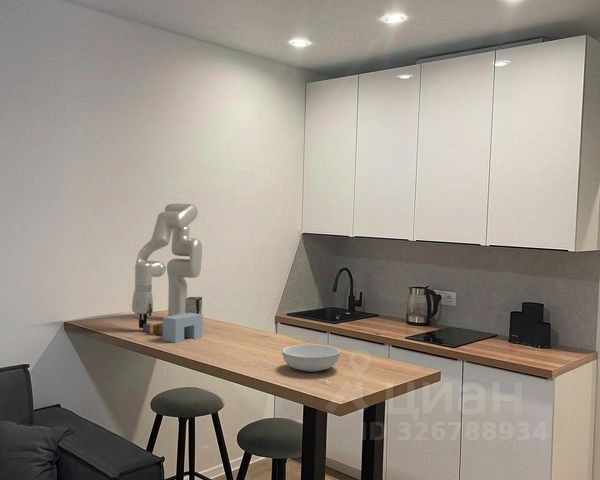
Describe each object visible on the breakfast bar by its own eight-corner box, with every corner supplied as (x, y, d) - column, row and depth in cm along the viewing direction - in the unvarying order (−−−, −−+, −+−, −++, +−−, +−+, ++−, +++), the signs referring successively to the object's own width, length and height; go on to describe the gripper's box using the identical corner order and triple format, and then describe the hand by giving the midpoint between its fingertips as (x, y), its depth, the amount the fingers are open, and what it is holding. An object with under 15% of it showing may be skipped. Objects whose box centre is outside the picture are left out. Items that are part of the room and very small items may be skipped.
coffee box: (198, 334, 269) (198, 299, 268) (184, 334, 269) (184, 299, 268) (202, 330, 278) (202, 296, 277) (188, 330, 278) (189, 296, 277)
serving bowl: (294, 359, 227) (294, 341, 227) (346, 365, 220) (346, 347, 219) (272, 372, 208) (272, 352, 208) (328, 379, 200) (329, 359, 200)
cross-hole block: (162, 339, 255) (163, 317, 255) (189, 334, 268) (190, 312, 268) (175, 342, 251) (175, 319, 250) (202, 336, 264) (202, 314, 263)
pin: (138, 332, 271) (138, 322, 271) (152, 329, 277) (152, 319, 277) (174, 339, 257) (174, 329, 257) (188, 336, 263) (188, 326, 263)
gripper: (126, 288, 276) (126, 326, 276) (147, 291, 267) (146, 331, 268) (139, 286, 282) (139, 324, 282) (160, 289, 273) (159, 328, 274)
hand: (142, 327), depth 275 cm, fingers closed
